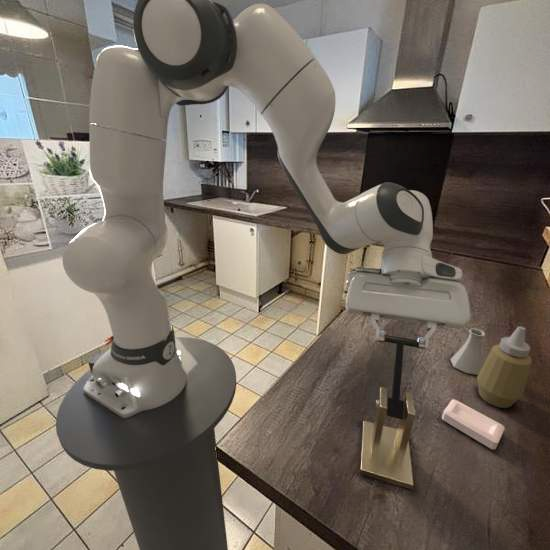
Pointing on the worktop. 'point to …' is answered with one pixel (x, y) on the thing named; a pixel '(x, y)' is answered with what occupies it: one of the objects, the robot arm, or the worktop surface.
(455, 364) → the flask
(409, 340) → the lever
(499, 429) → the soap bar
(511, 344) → the squeeze bottle
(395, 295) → the robot arm
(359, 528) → the worktop surface
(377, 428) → the cream lever mount
